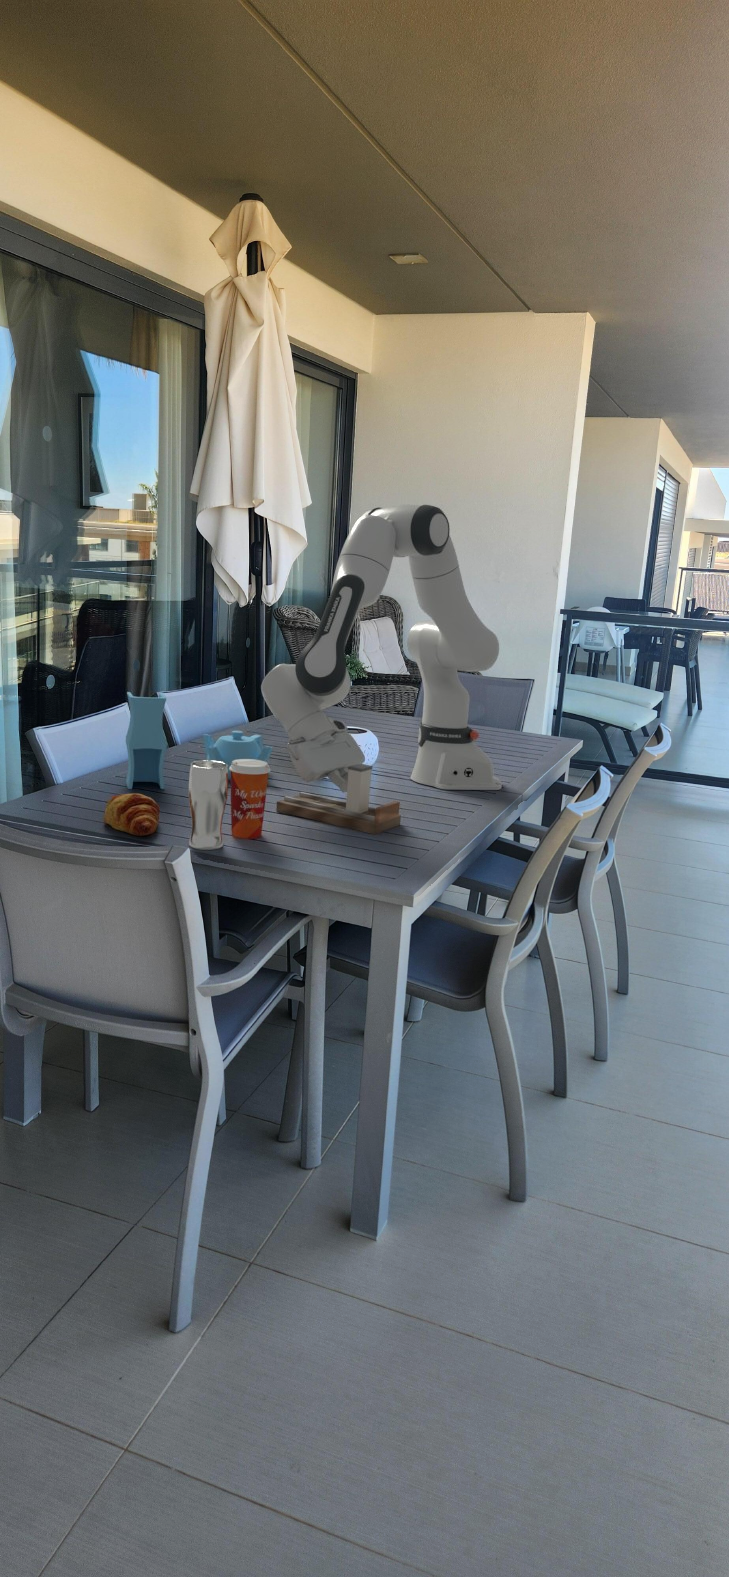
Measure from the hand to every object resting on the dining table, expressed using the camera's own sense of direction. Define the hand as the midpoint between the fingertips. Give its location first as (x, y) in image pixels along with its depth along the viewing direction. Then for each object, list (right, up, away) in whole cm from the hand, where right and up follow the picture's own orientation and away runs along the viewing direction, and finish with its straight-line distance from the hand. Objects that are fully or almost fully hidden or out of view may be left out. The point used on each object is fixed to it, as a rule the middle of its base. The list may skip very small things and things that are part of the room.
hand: (349, 790), depth 203 cm
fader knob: (+1, -4, 0) cm, 5 cm away
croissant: (-41, -7, -14) cm, 44 cm away
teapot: (-28, +3, +33) cm, 43 cm away
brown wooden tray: (-2, -6, +2) cm, 7 cm away
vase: (-46, +1, +17) cm, 49 cm away
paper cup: (-19, -9, -15) cm, 26 cm away
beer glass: (-26, -10, -23) cm, 36 cm away
